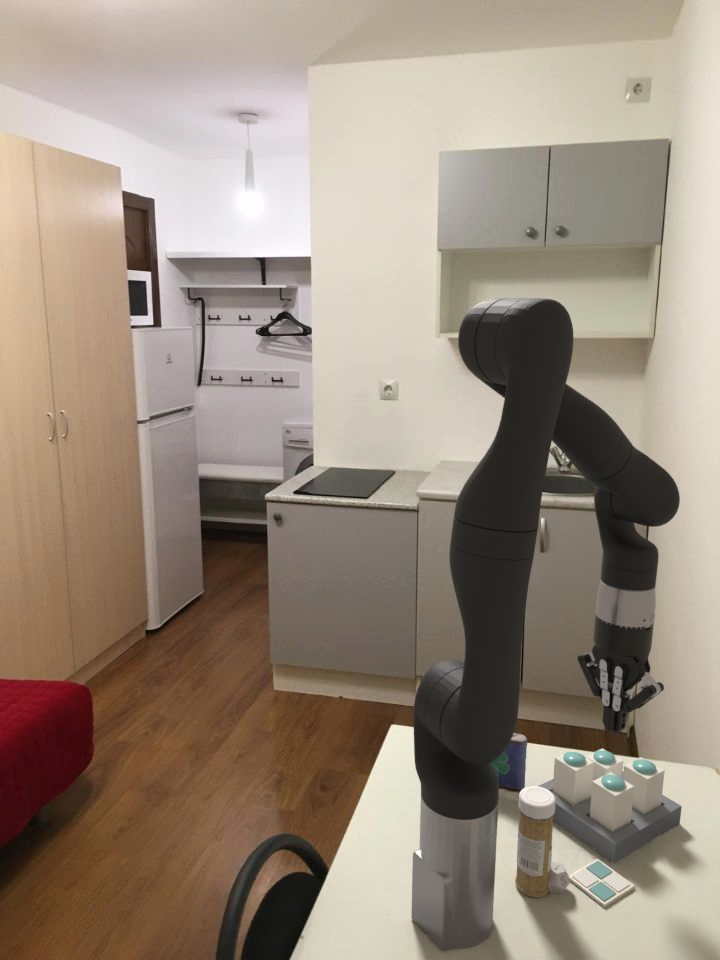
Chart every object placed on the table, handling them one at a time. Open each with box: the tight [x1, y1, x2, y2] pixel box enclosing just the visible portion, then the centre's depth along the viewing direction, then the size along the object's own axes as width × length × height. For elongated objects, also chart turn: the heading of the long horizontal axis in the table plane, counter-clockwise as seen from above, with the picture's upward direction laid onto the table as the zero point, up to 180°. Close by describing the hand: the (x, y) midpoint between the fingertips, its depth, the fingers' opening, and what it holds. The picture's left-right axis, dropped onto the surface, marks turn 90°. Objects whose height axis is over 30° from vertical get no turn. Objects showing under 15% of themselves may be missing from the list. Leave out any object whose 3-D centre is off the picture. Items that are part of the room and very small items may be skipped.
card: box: [568, 858, 635, 908], centre depth 100 cm, size 6×6×1 cm
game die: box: [547, 861, 571, 895], centre depth 99 cm, size 4×4×3 cm
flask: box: [491, 732, 528, 793], centre depth 121 cm, size 9×3×11 cm, turn 61°
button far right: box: [623, 756, 665, 815], centre depth 112 cm, size 4×4×6 cm
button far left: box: [584, 748, 624, 781], centre depth 118 cm, size 4×4×6 cm
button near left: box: [552, 749, 594, 807], centre depth 114 cm, size 4×4×6 cm
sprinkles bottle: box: [514, 785, 555, 898], centre depth 98 cm, size 5×5×13 cm
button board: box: [538, 770, 682, 864], centre depth 114 cm, size 15×15×3 cm
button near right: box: [590, 772, 634, 833], centre depth 108 cm, size 4×4×6 cm
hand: (613, 730), depth 106 cm, fingers closed
